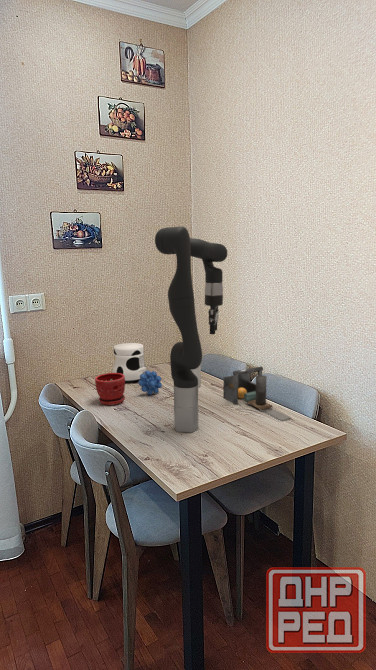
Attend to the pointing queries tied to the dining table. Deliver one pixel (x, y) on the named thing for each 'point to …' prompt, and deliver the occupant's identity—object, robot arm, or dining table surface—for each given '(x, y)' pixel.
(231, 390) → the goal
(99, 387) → the plant pot
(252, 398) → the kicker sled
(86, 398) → the dining table surface
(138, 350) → the milk container
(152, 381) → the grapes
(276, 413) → the rail
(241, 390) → the ball
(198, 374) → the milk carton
